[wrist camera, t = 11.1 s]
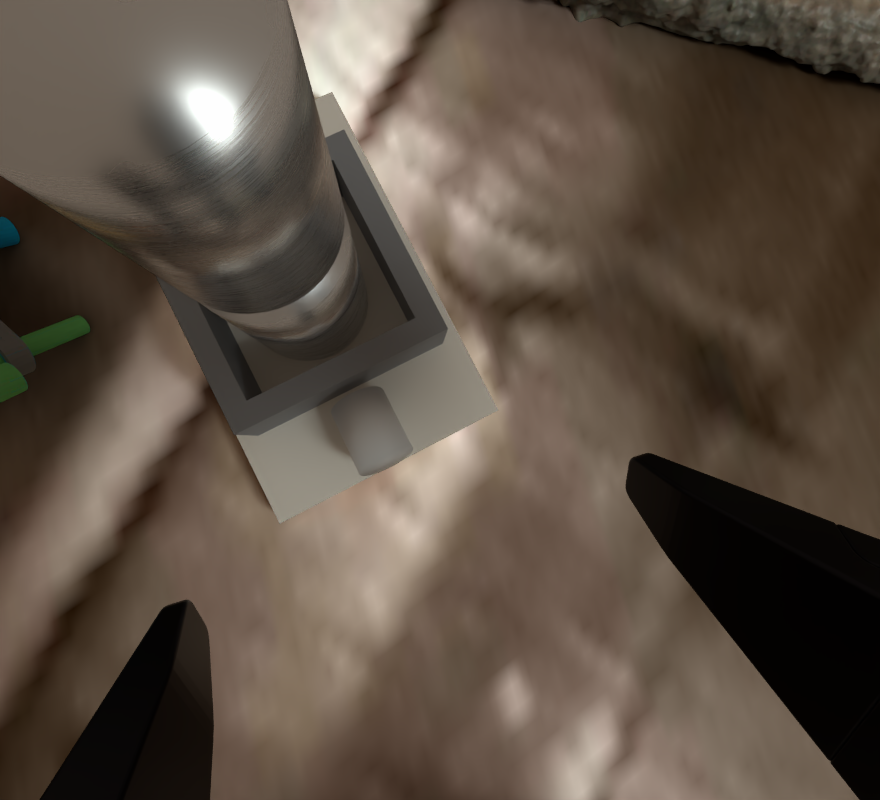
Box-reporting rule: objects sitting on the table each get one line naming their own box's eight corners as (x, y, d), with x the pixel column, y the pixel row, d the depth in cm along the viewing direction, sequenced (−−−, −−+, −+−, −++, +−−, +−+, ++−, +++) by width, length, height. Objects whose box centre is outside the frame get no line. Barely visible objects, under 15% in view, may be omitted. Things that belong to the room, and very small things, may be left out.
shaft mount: (494, 412, 20) (512, 405, 16) (286, 519, 19) (258, 537, 15) (335, 108, 20) (320, 39, 17) (128, 199, 19) (67, 147, 16)
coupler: (388, 327, 19) (345, 76, 6) (279, 381, 18) (-37, 243, 5) (334, 223, 19) (173, -253, 6) (225, 274, 18) (-212, -116, 5)
